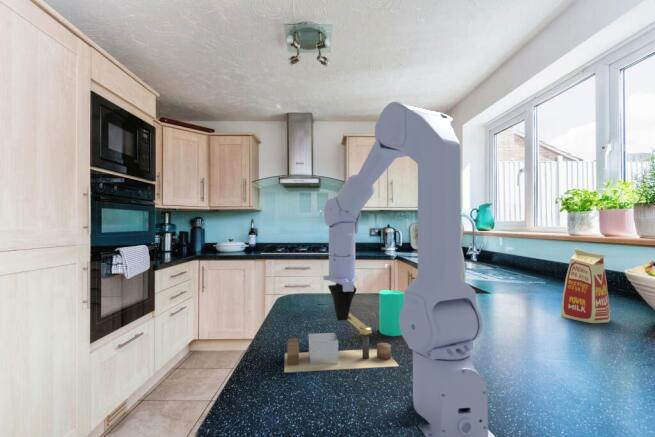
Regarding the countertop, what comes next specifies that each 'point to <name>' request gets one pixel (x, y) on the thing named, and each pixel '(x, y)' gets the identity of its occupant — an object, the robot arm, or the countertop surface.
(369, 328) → the lever
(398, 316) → the candle
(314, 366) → the wooden tray with blocks
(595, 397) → the countertop surface
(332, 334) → the frosted white cube
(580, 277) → the milk carton
